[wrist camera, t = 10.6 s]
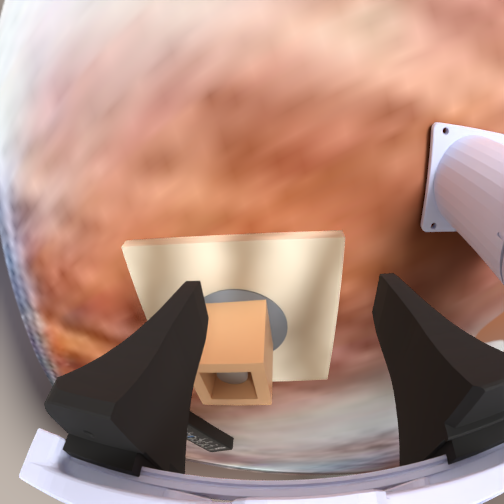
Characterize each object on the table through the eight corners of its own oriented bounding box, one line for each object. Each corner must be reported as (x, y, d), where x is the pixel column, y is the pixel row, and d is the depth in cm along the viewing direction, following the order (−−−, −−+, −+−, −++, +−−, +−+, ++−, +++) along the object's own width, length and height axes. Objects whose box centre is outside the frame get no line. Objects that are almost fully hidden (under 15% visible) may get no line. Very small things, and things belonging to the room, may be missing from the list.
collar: (266, 299, 23) (263, 362, 18) (273, 345, 25) (271, 404, 20) (199, 303, 23) (182, 363, 18) (214, 347, 26) (203, 404, 21)
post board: (342, 230, 21) (362, 282, 16) (326, 371, 29) (331, 421, 24) (126, 240, 22) (90, 287, 17) (174, 370, 30) (161, 417, 25)
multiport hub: (165, 390, 34) (161, 405, 32) (235, 436, 39) (233, 449, 38) (143, 396, 35) (139, 410, 33) (212, 440, 41) (210, 452, 39)
